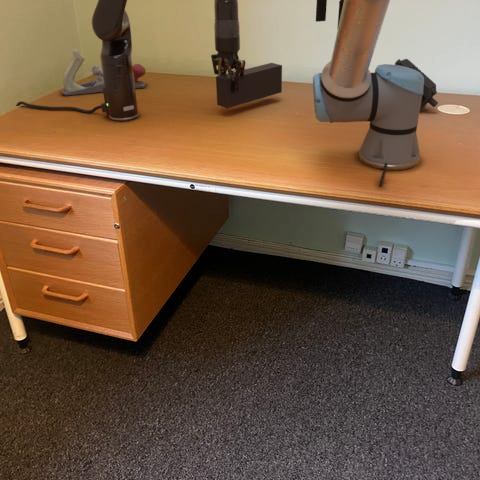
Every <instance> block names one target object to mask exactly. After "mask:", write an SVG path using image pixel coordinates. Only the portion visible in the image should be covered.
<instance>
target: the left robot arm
mask: <svg viewBox="0 0 480 480" xmlns="http://www.w3.org/2000/svg"><path fill="white" fill-rule="evenodd" d="M213 1H214V3H213V5H214V7H213V9H214V25H213V28H214V49H215V51H216V52H217V53H213V54H210V58H211V64H212V68H213V73H214V75H216V76H220V75H224V74H228V73H229V74H230V77H231V80H232V81H231V92H232V93H237V92H238V81H239V80H240V79H243V77H244V70H245V69H246V60H245V59H242V60H241V59H240V58H239V54H238V53H239V51H240V50H241V33H240V32H241V31H240V21H239V19H240V18H239V1H238V0H213ZM127 3H128V0H98V1H97V3H96V6H95V8H94V11H93V13H92V16H91V27H92V31H93V33H94V34H95V36H96V37H97V38H98V39H99V40H101V50H100V53H99V58H100V64H101V68H102V71H103V78H104V84H105V87H103V92H102V94H103V100H104V101H103V102H101V103H100V104H99V105H97V106H94V107H93V108H92V109H83V108H81V107H76V106H50V105H49V106H47V105H40V104H39V105H38V104H32V103H28V102H26V101H17V103H16V105H15V106H16V107H20V106H21V105H23V106H25V107H27V108H33V109H39V110H50V111H51V110H52V111H61V110H62V111H77V112H79V113H83V114H93V113H95V112H96V111H97V110H101V112H102V113H105V114H106V118H109V120H111V121H115V122H126V121H127V122H128V121H132V120H134V119H137V118H138V117H139V115H140V113H139V108H138V100H137V90H136V88H135V82H134V74H133V58H132V54H133V53H132V52H133V41H132V29H131V22H130V17H129V15H128V13H127V11H126V7H127ZM233 73H235V77H234V74H233ZM239 73H240V75H239Z"/></svg>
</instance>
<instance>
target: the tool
mask: <svg viewBox="0 0 480 480" xmlns="http://www.w3.org/2000/svg"><path fill="white" fill-rule="evenodd" d="M394 65H399V66H404V67H408V68H411V69H414V70H416V71H418V72H420V73H421V74H422V75H423V77H424V87H423V92H424V93H423V95H422V101H421V106H420V110H422V109H423V108H425V107H426V106H427V105H428V104H429V105H430V106H431V107H433V108H435V107H436V106H437V105H438V104H439V102H438V101H437V99H435V98H434V96H435V95H437V94H438V91H437V84H436V82H434V81H433V80H432V79H431V78H429V76H427V74H425V73H424V72H423V71H422V70H421V69H420V68H419V67H418V66H417V65H416V64H414V63H413V62H412V61H411V60H410V59H408V58H404V59H400V58H398V59H397V60H396V61H395V63H394Z"/></svg>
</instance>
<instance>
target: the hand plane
mask: <svg viewBox="0 0 480 480" xmlns="http://www.w3.org/2000/svg"><path fill="white" fill-rule="evenodd" d="M85 59H86V58H85V56H84V55H83V54H82V53H81V52H80V51H79V50H77V49H76V48H73V50H72V58H71V62H70V63H69V65H68V67H67V68H66V70H65V72H64V74H63V80H62V84H63V88H62V90H61V93H62V95H63V96H74V95H84V94H94V93H103V87H105V84H104V78H103V71H102V67H100V65H94V66H92V68H91V70H90V72H91V75H93V76H94V77H97V78H95V79H90V81H89V82H86V83H80V84H78V83H77V82H76V81H75V78H76V74H77V72H78V71H79V69H80V68H81V66H82V65H83V63H84V61H85ZM132 66H133V74H134V82H135V89H142V88H146V83H145V81H143V80H139V78H142V77H144V76H145V75H146V68H145V66H143V65H141V64H139V63H134V64H132Z"/></svg>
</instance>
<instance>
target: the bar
mask: <svg viewBox="0 0 480 480" xmlns="http://www.w3.org/2000/svg"><path fill="white" fill-rule="evenodd" d="M233 74H234V77H235V73H233ZM239 75H240V73H239ZM231 81H232V80H231V77H230V74H229V73H228V72H227V73H226V74H224V75H220V76H218V75H216V76H215V87H216V105H217V106H219V107H222V108H225V109H230V108H233V107H236V106H241V105H244V104H247V103H250V102H254V101H257V100H261V99H265V98H267V97H270V96H274V95H277V94H281V93H282V91H283V89H282V87H283V85H282V84H283V65H282V64H278V63H274V62H268V63H264V64H262V65H257V66H253V67H249V68H245V70H244V77H243V79H240V80H239V81H238V92H237V93H232V92H231Z"/></svg>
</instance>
